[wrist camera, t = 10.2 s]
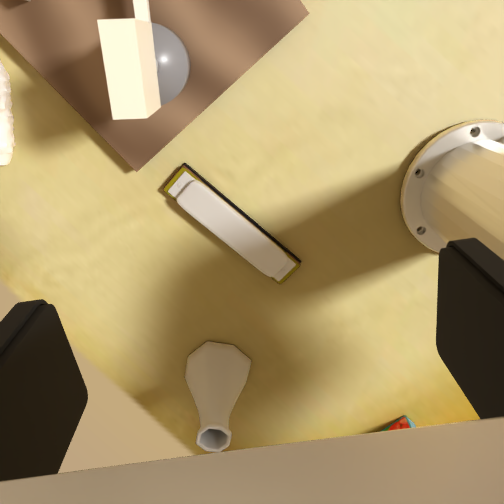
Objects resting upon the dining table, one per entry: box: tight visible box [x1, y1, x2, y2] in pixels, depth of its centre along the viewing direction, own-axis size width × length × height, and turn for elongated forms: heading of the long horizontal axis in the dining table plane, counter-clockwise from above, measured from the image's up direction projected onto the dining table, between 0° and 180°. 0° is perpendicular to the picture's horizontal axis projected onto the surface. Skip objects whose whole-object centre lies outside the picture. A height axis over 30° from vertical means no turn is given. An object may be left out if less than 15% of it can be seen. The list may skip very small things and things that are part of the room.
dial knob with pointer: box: [97, 0, 191, 120], centre depth 28 cm, size 13×6×10 cm, turn 2°
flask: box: [185, 341, 252, 452], centre depth 45 cm, size 7×7×10 cm
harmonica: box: [163, 163, 301, 284], centre depth 42 cm, size 15×3×2 cm, turn 48°
